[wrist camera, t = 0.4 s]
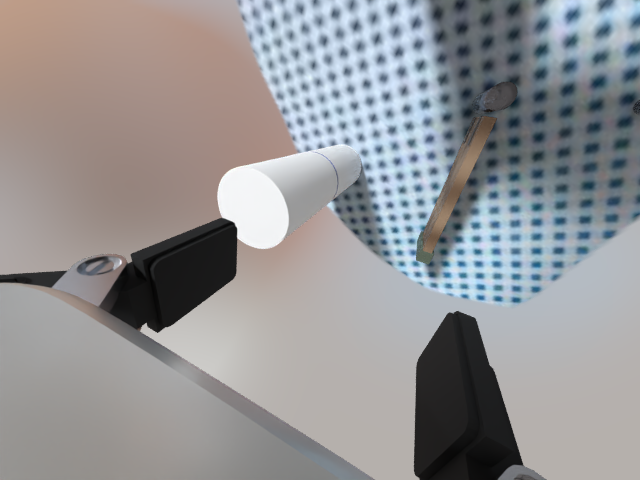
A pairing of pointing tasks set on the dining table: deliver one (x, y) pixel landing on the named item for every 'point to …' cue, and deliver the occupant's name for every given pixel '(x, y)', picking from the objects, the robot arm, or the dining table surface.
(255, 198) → the cylindrical container
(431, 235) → the wooden plank on edge
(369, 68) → the dining table surface
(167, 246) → the robot arm
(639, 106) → the post
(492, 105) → the hinge post
